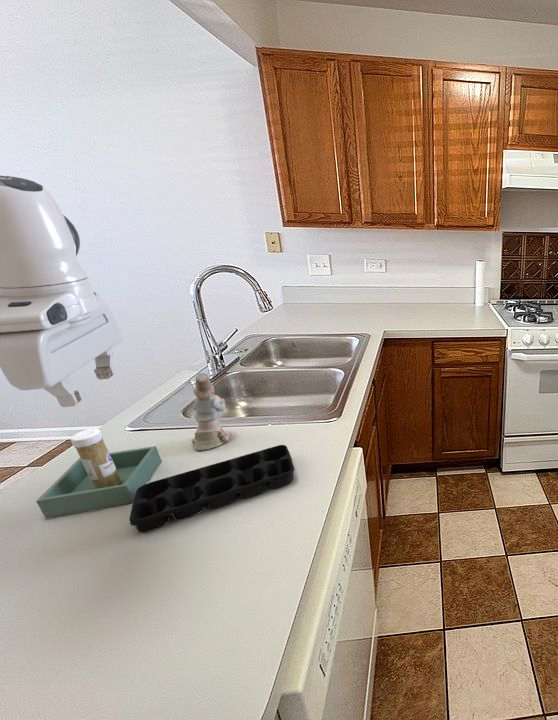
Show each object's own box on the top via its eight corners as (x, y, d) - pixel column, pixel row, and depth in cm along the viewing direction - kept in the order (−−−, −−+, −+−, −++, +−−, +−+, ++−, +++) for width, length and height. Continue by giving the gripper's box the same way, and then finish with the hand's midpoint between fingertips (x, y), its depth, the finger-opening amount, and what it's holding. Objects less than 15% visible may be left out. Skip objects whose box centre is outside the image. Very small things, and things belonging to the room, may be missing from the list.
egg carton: (128, 505, 82) (121, 491, 80) (279, 445, 101) (276, 433, 100) (140, 556, 70) (132, 540, 69) (307, 478, 90) (304, 464, 88)
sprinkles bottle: (123, 485, 87) (100, 433, 81) (95, 495, 84) (69, 442, 79) (121, 475, 90) (99, 425, 84) (94, 485, 87) (69, 433, 82)
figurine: (226, 448, 100) (205, 377, 92) (188, 453, 98) (164, 380, 90) (237, 430, 108) (219, 362, 100) (203, 433, 106) (181, 365, 98)
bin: (45, 518, 78) (35, 501, 77) (87, 473, 91) (79, 457, 90) (133, 502, 82) (126, 485, 81) (161, 461, 95) (156, 445, 94)
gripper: (70, 288, 64) (101, 366, 69) (-38, 324, 46) (16, 427, 51) (117, 285, 65) (144, 362, 71) (32, 320, 47) (77, 419, 53)
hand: (90, 390), depth 61 cm, fingers open, 8 cm apart
